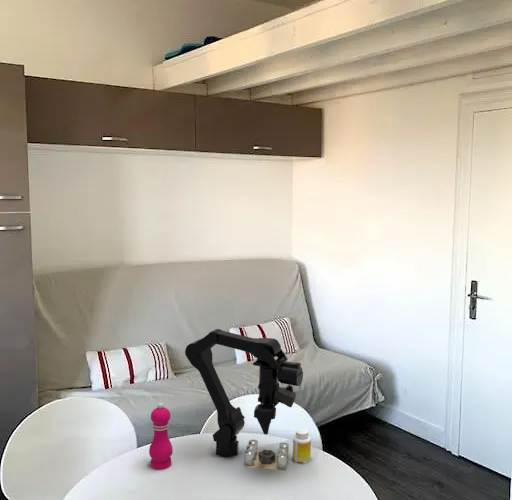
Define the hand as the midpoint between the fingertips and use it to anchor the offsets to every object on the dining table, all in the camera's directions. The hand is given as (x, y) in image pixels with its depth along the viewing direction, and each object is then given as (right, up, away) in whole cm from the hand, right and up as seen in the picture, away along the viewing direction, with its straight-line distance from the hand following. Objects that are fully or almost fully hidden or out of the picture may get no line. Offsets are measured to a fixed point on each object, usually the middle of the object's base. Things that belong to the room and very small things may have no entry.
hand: (267, 428), depth 179 cm
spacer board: (0, -12, 0) cm, 12 cm away
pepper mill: (-33, -12, +1) cm, 35 cm away
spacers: (0, -11, +3) cm, 11 cm away
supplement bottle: (+11, -12, +4) cm, 17 cm away
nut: (0, -11, +2) cm, 11 cm away
